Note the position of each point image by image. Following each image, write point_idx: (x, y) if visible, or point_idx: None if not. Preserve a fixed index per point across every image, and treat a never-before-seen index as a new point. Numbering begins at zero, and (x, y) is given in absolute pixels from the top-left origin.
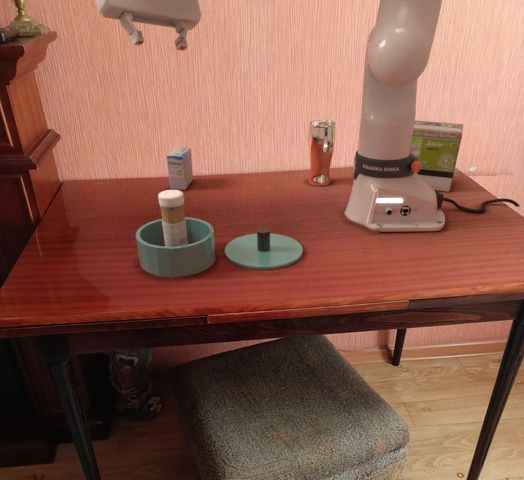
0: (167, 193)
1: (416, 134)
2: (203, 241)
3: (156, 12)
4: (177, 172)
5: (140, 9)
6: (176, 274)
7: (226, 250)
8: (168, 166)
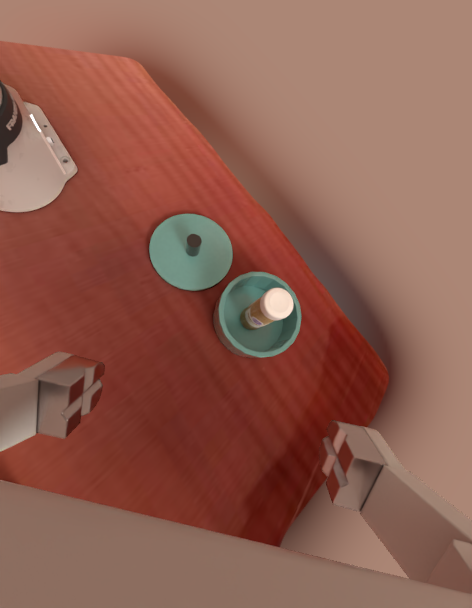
0: (282, 305)
1: None
2: (263, 272)
3: (220, 542)
4: None
5: (451, 601)
6: None
7: (215, 281)
8: None
